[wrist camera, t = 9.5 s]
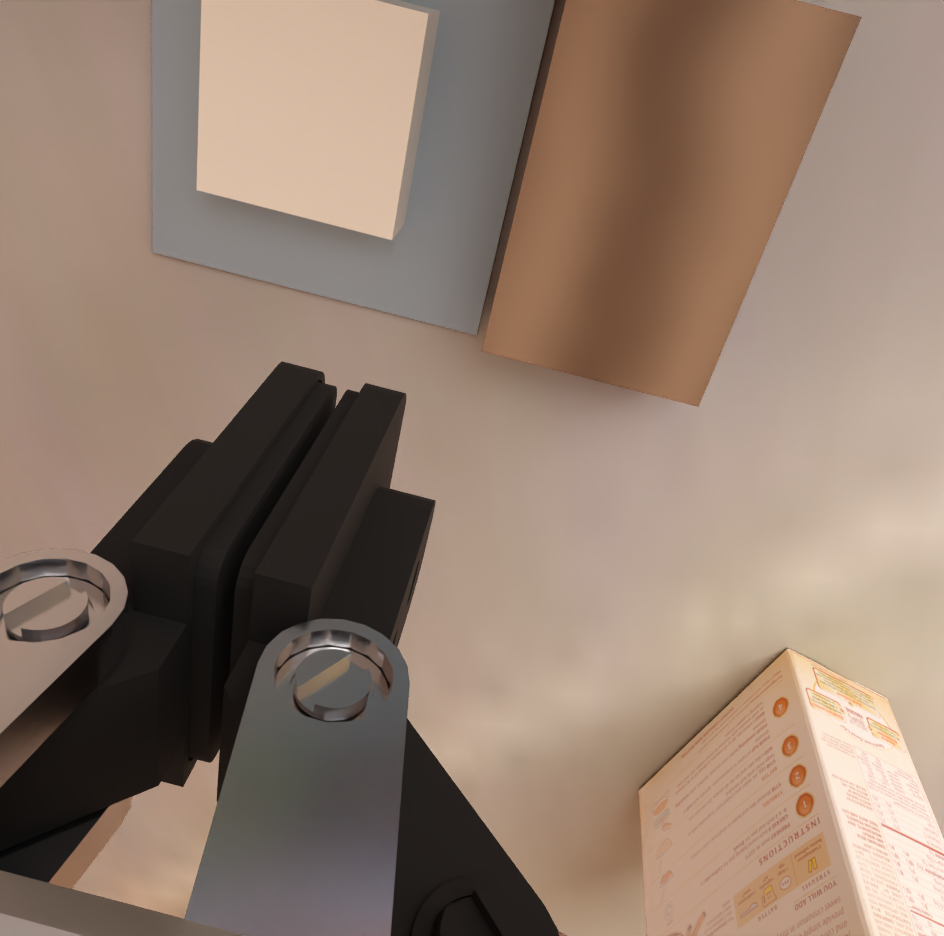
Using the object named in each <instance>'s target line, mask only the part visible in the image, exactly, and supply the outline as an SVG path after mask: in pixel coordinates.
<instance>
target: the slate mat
mask: <svg viewBox="0 0 944 936" xmlns="http://www.w3.org/2000/svg"><path fill="white" fill-rule="evenodd" d="M399 1H403V2H407V3H411V4H415V5H418V6H422V7H426V8H430V9H434V10H438V11H440V16H439V22H438V28H437V34H436V40H435V46H434V52H433V58H432V64H431V70H430V76H429V82H428V88H427V94H426V100H425V106H424V111H423V117H422V123H421V129H420V135H419V141H418V147H417V153H416V159H415V165H414V171H413V177H412V183H411V189H410V195H409V201H408V207H407V213H406V219H405V224H404V226H403V227H402V228H401V230H400V231H399V232H398V233H397V235H396V236H395V237H394V238H393V240H389V239H385V238H381V237H377V236H374V235H370V234H366V233H362V232H358V231H354V230H350V229H346V228H342V227H339V226H335V225H331V224H327V223H323V222H319V221H315V220H311V219H307V218H303V217H300V216H296V215H292V214H288V213H284V212H280V211H276V210H272V209H268V208H265V207H261V206H257V205H253V204H249V203H245V202H241V201H237V200H233V199H229V198H226V197H222V196H218V195H214V194H210V193H206V192H202V191H198V190H197V151H198V113H199V74H200V36H201V0H152V252H153V253H157V254H161V255H165V256H168V257H172V258H176V259H180V260H184V261H188V262H192V263H196V264H200V265H203V266H207V267H211V268H215V269H219V270H223V271H227V272H231V273H235V274H238V275H242V276H246V277H250V278H254V279H258V280H262V281H266V282H270V283H273V284H277V285H281V286H285V287H289V288H293V289H297V290H301V291H305V292H309V293H312V294H316V295H320V296H324V297H328V298H332V299H336V300H340V301H344V302H347V303H351V304H355V305H359V306H363V307H367V308H371V309H375V310H379V311H382V312H386V313H390V314H394V315H398V316H402V317H406V318H410V319H414V320H417V321H421V322H425V323H429V324H433V325H437V326H441V327H445V328H449V329H453V330H456V331H460V332H464V333H468V334H472V335H477V332H478V328H479V324H480V319H481V315H482V311H483V306H484V302H485V298H486V294H487V289H488V285H489V281H490V276H491V272H492V268H493V264H494V259H495V255H496V251H497V247H498V242H499V238H500V234H501V229H502V225H503V221H504V217H505V212H506V208H507V204H508V200H509V195H510V191H511V187H512V182H513V178H514V174H515V170H516V165H517V161H518V157H519V153H520V148H521V144H522V140H523V135H524V131H525V127H526V123H527V118H528V114H529V110H530V106H531V101H532V97H533V93H534V88H535V84H536V80H537V76H538V71H539V67H540V63H541V59H542V54H543V50H544V46H545V41H546V37H547V33H548V29H549V24H550V20H551V16H552V12H553V7H554V3H555V0H399Z"/></svg>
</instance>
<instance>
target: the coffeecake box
mask: <svg viewBox="0 0 944 936" xmlns="http://www.w3.org/2000/svg"><path fill="white" fill-rule="evenodd" d="M638 795H639V808H640V823H641V842H642V864H643V882H644V901H645V918H646V936H944V839H943V836H942V834H941V831H940V829H939V826H938V824H937V821H936V819H935V816H934V814H933V811H932V809H931V806H930V804H929V801H928V799H927V797H926V794H925V792H924V789H923V787H922V784H921V782H920V779H919V776H918V774H917V772H916V769H915V767H914V765H913V762H912V760H911V757H910V755H909V752H908V749H907V747H906V744H905V742H904V739H903V736H902V734H901V731H900V729H899V727H898V724H897V722H896V720H895V717H894V715H893V712H892V710H891V707H890V705H889V702H888V699H887V698H886V697H884V696H882V695H880V694H878V693H876V692H874V691H872V690H870V689H868V688H866V687H864V686H862V685H860V684H858V683H856V682H854V681H851V680H848V679H846V678H844V677H842V676H840V675H838V674H836V673H834V672H832V671H830V670H829V669H827V668H825V667H823V666H822V665H820V664H818V663H817V662H815V661H812V660H810V659H808V658H807V657H805V656H803V655H801V654H799V653H797V652H795V651H793V650H791V649H787V650H785V651H784V652H783V653H782V654H781V655H780V656H779V657H778V658H777V659H776V660H775V661H774V662H773V663H772V664H771V665H770V666H769V667H768V668H767V669H765V670H764V671H763V672H762V673H761V674H760V675H759V676H758V677H757V678H756V679H755V680H754V681H753V682H752V683H751V684H750V685H749V686H748V687H746V688H745V689H744V690H743V691H742V692H741V693H740V694H739V695H738V696H737V697H736V698H735V699H734V700H733V701H732V702H731V703H730V704H729V705H728V706H727V707H726V708H725V709H723V710H722V711H721V712H720V713H719V714H718V715H717V716H716V717H715V718H714V719H713V720H712V721H711V722H710V723H709V724H708V725H707V726H706V727H705V728H704V729H703V730H702V731H701V732H700V733H698V734H697V735H696V736H695V737H694V738H693V739H692V740H691V741H690V742H689V743H688V744H687V745H686V746H685V747H684V748H683V749H682V750H681V751H680V752H679V753H677V754H676V755H675V756H674V757H673V758H672V759H671V760H670V761H669V762H668V763H667V764H666V765H665V766H664V767H663V768H662V769H661V770H660V771H659V772H658V773H657V774H655V775H654V776H653V777H652V778H651V779H650V780H649V781H648V782H647V783H646V784H645V785H644V786H643V787H642V788H641V789H640V790H639V791H638Z"/></svg>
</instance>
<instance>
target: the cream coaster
mask: <svg viewBox="0 0 944 936" xmlns="http://www.w3.org/2000/svg"><path fill="white" fill-rule="evenodd" d="M439 16H440V11H438V10H434V9H430V8H426V7H422V6H418V5H415V4H411V3H407V2H403V1H399V0H201V36H200V74H199V113H198V151H197V190H198V191H202V192H206V193H210V194H214V195H218V196H222V197H226V198H229V199H233V200H237V201H241V202H245V203H249V204H253V205H257V206H261V207H265V208H268V209H272V210H276V211H280V212H284V213H288V214H292V215H296V216H300V217H303V218H307V219H311V220H315V221H319V222H323V223H327V224H331V225H335V226H339V227H342V228H346V229H350V230H354V231H358V232H362V233H366V234H370V235H374V236H377V237H381V238H385V239H389V240H393V238H394V237H395V236H396V235H397V233H398V232H399V231H400V230H401V228H402V227H403V226H404V224H405V219H406V213H407V207H408V201H409V195H410V189H411V183H412V177H413V171H414V165H415V159H416V153H417V147H418V141H419V135H420V129H421V123H422V117H423V111H424V106H425V100H426V94H427V88H428V82H429V76H430V70H431V64H432V58H433V52H434V46H435V40H436V34H437V28H438V22H439Z"/></svg>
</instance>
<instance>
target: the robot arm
mask: <svg viewBox="0 0 944 936" xmlns="http://www.w3.org/2000/svg"><path fill="white" fill-rule="evenodd" d="M336 397H337V388H336V386H332V385H328V384H325V375H324V373H323V372H321V371H317V370H313V369H309V368H305V367H301V366H297V365H293V364H290V363H286V362H281V363H280V364H278V366H277V367H276V368H275V369H274V370H273V372H272V373H271V374H270V375H269V376H268V378H267V379H266V380H265V381H264V382H263V384H262V385H261V386H260V387H259V388H258V390H257V391H256V392H255V393H254V394H253V396H252V397H251V398H250V399H249V400H248V402H247V403H246V404H245V405H244V406H243V408H242V409H241V410H240V411H239V412H238V414H237V415H236V416H235V417H234V418H233V420H232V421H231V422H230V423H229V424H228V426H227V427H226V428H225V429H224V430H223V432H222V433H221V434H220V435H219V436H218V438H217V439H216V440H215V441H214V442H213V443H211V442H207V441H204V440H200V439H195V440H192V441H190V442H189V443H188V444H187V445H186V446H185V447H184V448H183V449H182V450H181V451H180V452H179V453H178V455H177V456H176V457H175V458H174V459H173V460H172V461H171V462H170V464H169V465H168V466H167V467H166V468H165V469H164V470H163V472H162V473H161V474H160V475H159V476H158V477H157V478H156V479H155V481H154V482H153V483H152V484H151V485H150V486H149V487H148V488H147V490H146V491H145V492H144V493H143V494H142V495H141V496H140V497H139V499H138V500H137V501H136V502H135V503H134V504H133V505H132V507H131V508H130V509H129V510H128V511H127V512H126V513H125V514H124V516H123V517H122V518H121V519H120V520H119V521H118V522H117V523H116V525H115V526H114V527H113V528H112V529H111V530H110V531H109V533H108V534H107V535H106V536H105V537H104V538H103V539H102V540H101V542H100V543H99V544H98V545H97V546H96V547H95V548H94V549H93V551H92V552H91V553H87V552H83V551H79V550H74V549H44V550H36V551H29V552H24V553H21V554H18V555H15V556H12V557H9V558H6V559H3V560H1V561H0V936H567V935H565V934H563V933H561V932H559V931H558V929H557V927H556V925H555V924H554V922H553V920H552V918H551V916H550V915H549V913H548V911H547V909H546V907H545V906H544V904H543V903H542V901H541V900H540V898H539V897H538V896H537V894H536V893H535V892H534V890H533V889H532V888H531V886H530V885H529V883H528V882H527V881H526V879H525V878H524V877H523V875H522V874H521V873H520V871H519V870H518V869H517V867H516V866H515V864H514V863H513V862H512V860H511V859H510V858H509V856H508V855H507V854H506V852H505V851H504V850H503V848H502V847H501V845H500V844H499V843H498V841H497V840H496V839H495V837H494V836H493V835H492V833H491V832H490V830H489V829H488V828H487V826H486V825H485V824H484V822H483V821H482V820H481V818H480V817H479V816H478V814H477V813H476V811H475V810H474V809H473V807H472V806H471V805H470V803H469V802H468V801H467V799H466V798H465V796H464V795H463V794H462V792H461V791H460V790H459V788H458V787H457V786H456V784H455V783H454V782H453V780H452V779H451V777H450V776H449V775H448V773H447V772H446V771H445V769H444V768H443V767H442V765H441V764H440V763H439V761H438V760H437V758H436V757H435V756H434V754H433V753H432V752H431V750H430V749H429V748H428V746H427V745H426V743H425V742H424V741H423V739H422V738H421V737H420V735H419V734H418V733H417V731H416V730H415V729H414V727H413V726H412V724H411V723H410V722H409V720H408V719H407V710H408V697H409V675H408V667H407V664H406V662H405V660H404V659H403V657H402V655H401V653H400V651H399V649H398V648H397V646H398V643H399V640H400V637H401V633H402V630H403V627H404V624H405V620H406V617H407V614H408V611H409V607H410V604H411V600H412V597H413V593H414V590H415V586H416V583H417V579H418V575H419V571H420V568H421V564H422V560H423V556H424V552H425V547H426V543H427V539H428V535H429V530H430V526H431V522H432V517H433V513H434V508H435V500H431V499H427V498H424V497H420V496H416V495H412V494H408V493H404V492H400V491H397V490H393V489H389V488H390V483H391V478H392V472H393V467H394V462H395V457H396V452H397V446H398V441H399V436H400V431H401V425H402V420H403V415H404V410H405V404H406V393H402V392H398V391H394V390H390V389H386V388H382V387H379V386H375V385H371V384H367V383H365V385H364V386H363V387H362V389H361V391H360V393H359V392H355V391H351V390H347V391H346V392H345V393H344V395H343V397H342V398H341V400H340V402H339V403H338V405H337V406H336V408H335V405H336ZM219 749H220V757H219V772H218V788H217V802H218V803H217V807H216V810H215V814H214V817H213V821H212V824H211V828H210V831H209V835H208V838H207V842H206V845H205V849H204V852H203V856H202V859H201V863H200V866H199V870H198V873H197V877H196V880H195V883H194V887H193V890H192V894H191V897H190V901H189V904H188V908H187V911H186V915H185V918H184V919H182V918H178V917H175V916H171V915H167V914H164V913H160V912H156V911H152V910H149V909H145V908H141V907H137V906H134V905H130V904H126V903H123V902H119V901H115V900H111V899H107V898H104V897H100V896H96V895H92V894H88V893H85V892H81V891H77V890H73V889H72V888H73V887H74V885H75V884H76V883H77V881H78V880H79V879H80V878H81V876H82V875H83V874H84V872H85V871H86V870H87V868H88V867H89V866H90V864H91V863H92V862H93V860H94V859H95V858H96V857H97V855H98V854H99V853H100V851H101V850H102V849H103V847H104V846H105V845H106V843H107V842H108V841H109V840H110V838H111V837H112V836H113V834H114V833H115V832H116V830H117V829H118V828H119V826H120V825H121V824H122V822H123V820H124V818H125V816H126V815H127V813H128V811H129V809H130V807H131V802H132V797H133V796H134V795H137V794H139V793H142V792H144V791H146V790H149V789H151V788H154V787H156V786H158V785H159V784H160V782H161V781H162V782H166V783H170V784H174V785H178V786H182V787H183V786H184V784H185V782H186V780H187V778H188V777H189V775H190V773H191V771H192V769H193V767H194V765H195V763H196V761H197V760H201V761H205V762H209V763H210V762H212V761H213V759H214V758H215V756H216V755H217V753H218V751H219Z"/></svg>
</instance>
